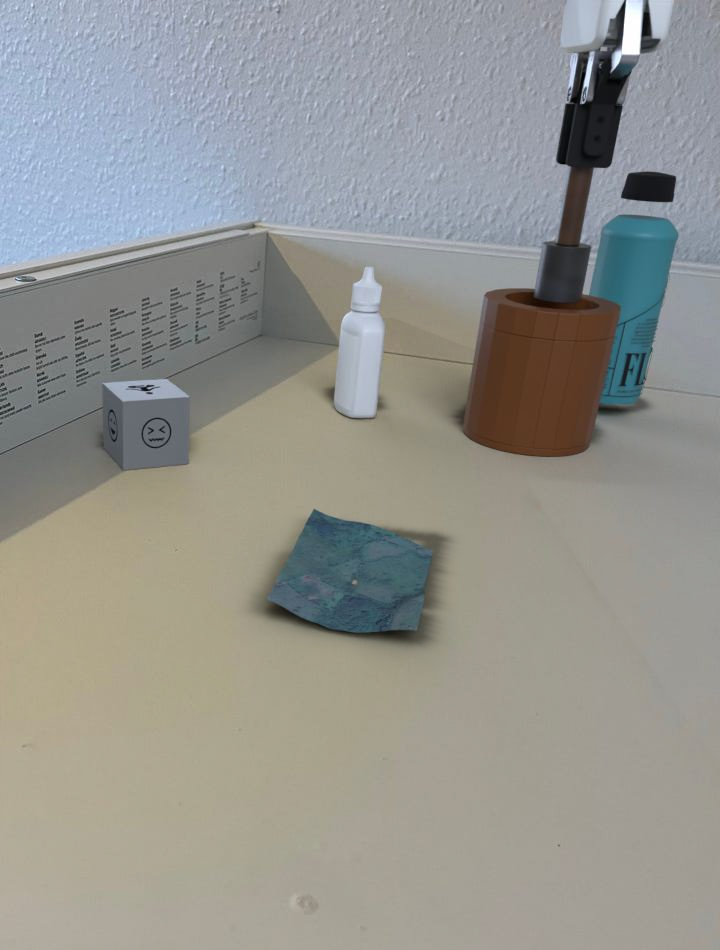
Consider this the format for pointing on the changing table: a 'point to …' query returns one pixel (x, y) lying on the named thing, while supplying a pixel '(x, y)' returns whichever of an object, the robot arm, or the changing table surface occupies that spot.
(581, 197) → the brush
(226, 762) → the changing table surface
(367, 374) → the eye dropper bottle
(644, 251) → the beverage bottle
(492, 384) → the brown wooden cup
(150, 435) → the dice cube
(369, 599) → the terrain model
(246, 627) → the changing table surface
